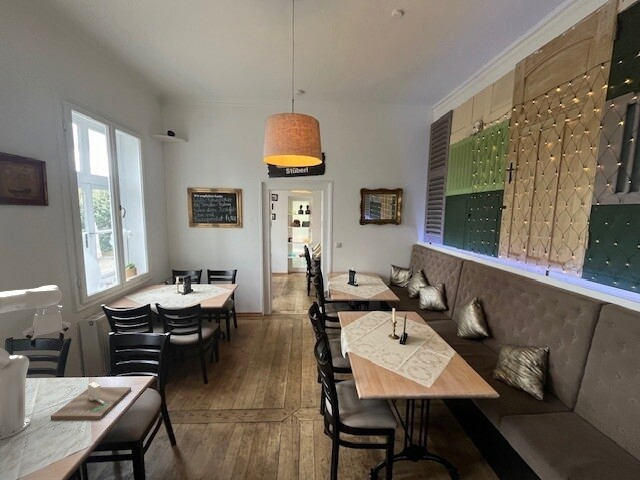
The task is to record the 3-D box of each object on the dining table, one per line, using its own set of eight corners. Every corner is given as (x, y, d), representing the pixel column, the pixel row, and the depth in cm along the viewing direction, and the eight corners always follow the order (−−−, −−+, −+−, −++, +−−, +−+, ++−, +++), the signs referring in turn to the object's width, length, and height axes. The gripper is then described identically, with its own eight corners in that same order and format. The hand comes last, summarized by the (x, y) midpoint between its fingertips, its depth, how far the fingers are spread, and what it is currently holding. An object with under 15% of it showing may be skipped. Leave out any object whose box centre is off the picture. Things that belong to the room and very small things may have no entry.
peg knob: (86, 398, 132) (87, 384, 132) (94, 394, 135) (94, 381, 135) (99, 406, 127) (99, 391, 127) (107, 402, 130) (107, 388, 130)
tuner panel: (100, 419, 121) (100, 415, 121) (50, 419, 120) (50, 415, 120) (131, 390, 143) (131, 387, 143) (89, 389, 142) (89, 386, 142)
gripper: (69, 305, 144) (68, 336, 145) (21, 312, 130) (21, 347, 131) (72, 308, 140) (72, 340, 140) (23, 316, 126) (23, 351, 126)
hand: (47, 343), depth 136 cm, fingers open, 9 cm apart
